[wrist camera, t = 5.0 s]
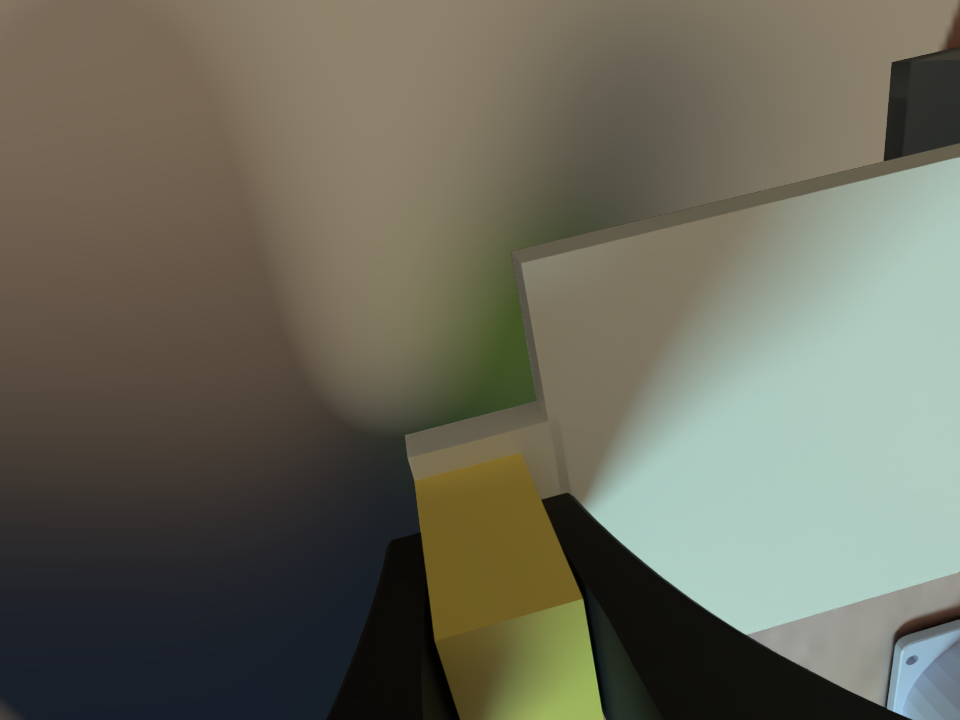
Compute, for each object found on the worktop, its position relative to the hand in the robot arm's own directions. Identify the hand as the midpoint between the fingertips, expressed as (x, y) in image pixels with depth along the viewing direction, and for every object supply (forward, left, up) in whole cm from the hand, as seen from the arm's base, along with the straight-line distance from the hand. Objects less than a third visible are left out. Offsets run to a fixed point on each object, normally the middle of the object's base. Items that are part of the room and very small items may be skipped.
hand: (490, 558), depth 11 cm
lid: (0, -7, -2) cm, 7 cm away
